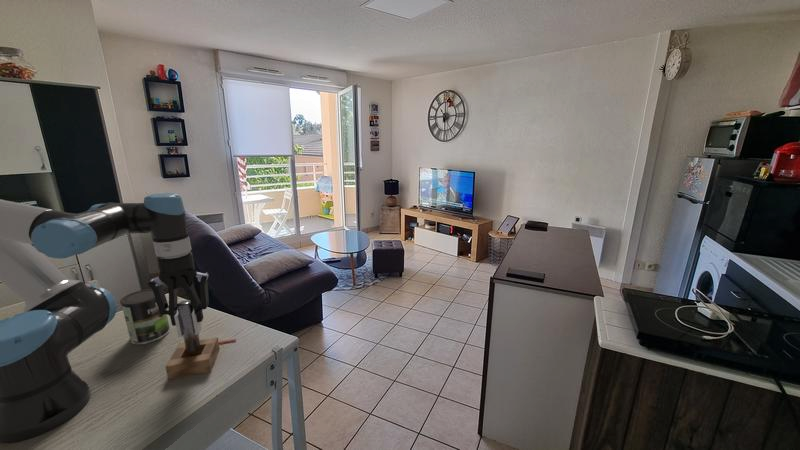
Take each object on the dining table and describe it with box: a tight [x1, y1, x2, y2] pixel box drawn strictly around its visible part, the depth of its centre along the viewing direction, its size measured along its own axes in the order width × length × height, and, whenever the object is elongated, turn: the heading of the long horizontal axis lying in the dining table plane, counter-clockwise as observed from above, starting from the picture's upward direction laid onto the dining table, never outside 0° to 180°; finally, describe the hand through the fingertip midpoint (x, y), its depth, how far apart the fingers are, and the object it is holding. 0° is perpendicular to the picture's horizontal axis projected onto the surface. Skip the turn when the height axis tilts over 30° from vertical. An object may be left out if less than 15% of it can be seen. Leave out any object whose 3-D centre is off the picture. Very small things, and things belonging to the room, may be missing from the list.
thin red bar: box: [218, 338, 237, 345], centre depth 96 cm, size 14×1×1 cm, turn 107°
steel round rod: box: [177, 299, 201, 352], centre depth 85 cm, size 3×3×14 cm
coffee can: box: [119, 288, 171, 346], centre depth 98 cm, size 10×10×14 cm
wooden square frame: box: [165, 336, 220, 380], centre depth 87 cm, size 10×10×4 cm
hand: (190, 332), depth 85 cm, fingers closed on steel round rod, 3 cm apart
